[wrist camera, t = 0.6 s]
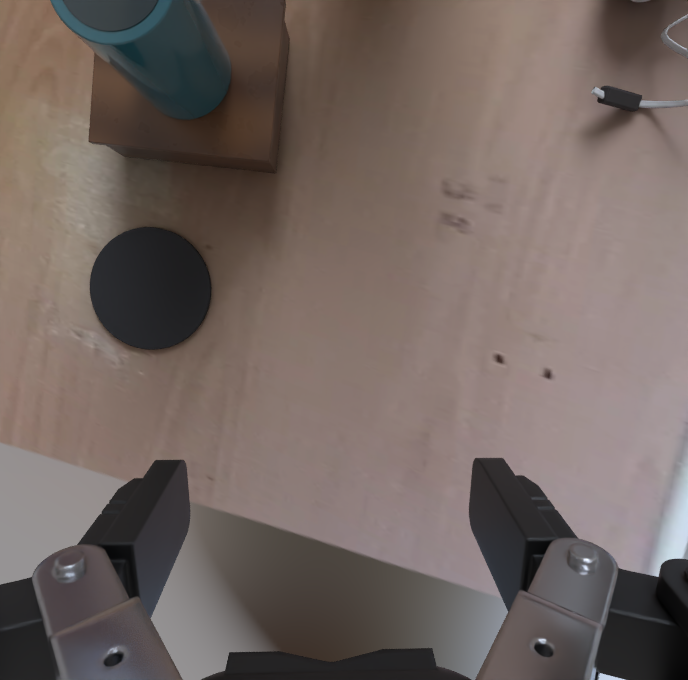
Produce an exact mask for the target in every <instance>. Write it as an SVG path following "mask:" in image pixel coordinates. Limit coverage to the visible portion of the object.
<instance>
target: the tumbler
mask: <svg viewBox="0 0 688 680" xmlns="http://www.w3.org/2000/svg"><path fill="white" fill-rule="evenodd" d="M50 1H51V3H52V6H53V7H54V9H55V11H56V13H57V15H58V16H59V17H60V19H61V20H62V21H63V22H64V24H65V25H66V26H67V27H68V28H69V29H70V30H71V31H72V32H74V33H75V34H76V35H77V36H78V37H79V38H80V39H81V40H82V41H83V42H84V43H85V44H86V45H88V46H89V47H90V48H91V49H92V50H93V51H94V52H95V53H96V54H97V55H98V56H99V57H100V58H101V59H103V60H104V61H105V62H106V63H107V64H108V65H109V66H110V67H111V68H112V69H113V70H114V71H115V72H116V73H118V74H119V75H120V76H121V77H122V78H123V79H124V80H125V81H126V82H127V83H128V84H129V85H130V86H131V87H133V88H134V89H135V90H136V91H137V92H138V93H139V94H140V95H141V96H142V97H143V98H144V99H145V100H147V101H148V102H149V103H150V104H151V105H152V106H153V107H154V108H155V109H156V110H158V111H159V112H161V113H162V114H164V115H166V116H168V117H171V118H175V119H180V120H189V119H195V118H199V117H202V116H204V115H206V114H208V113H210V112H211V111H212V110H214V109H215V108H216V107H217V106H218V105H219V104H220V102H221V101H222V100H223V98H224V97H225V95H226V93H227V90H228V88H229V84H230V80H231V62H230V57H229V54H228V51H227V49H226V47H225V45H224V43H223V41H222V40H221V38H220V36H219V34H218V32H217V30H216V28H215V26H214V25H213V23H212V21H211V19H210V17H209V15H208V13H207V11H206V10H205V8H204V6H203V4H202V2H201V0H50Z"/></svg>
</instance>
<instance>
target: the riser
mask: <svg viewBox="0 0 688 680" xmlns="http://www.w3.org/2000/svg"><path fill="white" fill-rule="evenodd" d="M201 2H202V4H203V6H204V8H205V10H206V11H207V13H208V15H209V17H210V19H211V21H212V23H213V25H214V26H215V28H216V30H217V32H218V34H219V36H220V38H221V40H222V41H223V43H224V45H225V47H226V49H227V51H228V54H229V57H230V62H231V80H230V84H229V88H228V90H227V93H226V95H225V97H224V98H223V100H222V101H221V102H220V104H219V105H218V106H217V107H216V108H215V109H214V110H212V111H211V112H210V113H208V114H206V115H204V116H202V117H199V118H195V119H189V120H180V119H175V118H171V117H168V116H166V115H164V114H162V113H161V112H159V111H158V110H156V109H155V108H154V107H153V106H152V105H151V104H150V103H149V102H148V101H147V100H145V99H144V98H143V97H142V96H141V95H140V94H139V93H138V92H137V91H136V90H135V89H134V88H133V87H131V86H130V85H129V84H128V83H127V82H126V81H125V80H124V79H123V78H122V77H121V76H120V75H119V74H118V73H116V72H115V71H114V70H113V69H112V68H111V67H110V66H109V65H108V64H107V63H106V62H105V61H104V60H103V59H101V58H100V57H99V56H98V55H97V54H96V53H95V55H94V70H93V85H92V99H91V114H90V129H89V142H90V143H92V144H99V145H106V146H108V147H110V148H111V149H113V150H115V151H116V152H118V153H120V154H121V155H123V156H125V157H134V158H143V159H152V160H161V161H170V162H180V163H189V164H198V165H207V166H216V167H225V168H235V169H244V170H253V171H262V172H271V173H276V170H277V160H278V150H279V140H280V130H281V120H282V110H283V100H284V90H285V80H286V70H287V60H288V50H289V40H290V39H289V35H288V31H287V28H286V24H285V20H284V18H285V8H286V2H285V0H201Z"/></svg>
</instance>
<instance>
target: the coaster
mask: <svg viewBox="0 0 688 680" xmlns="http://www.w3.org/2000/svg"><path fill="white" fill-rule="evenodd" d="M90 294H91V300H92V304H93V307H94V310H95V312H96V314H97V316H98V318H99V320H100V321H101V323H102V324H103V325H104V327H105V328H106V329H107V330H108V331H109V332H110V333H111V334H112V335H113V336H115V337H116V338H117V339H119V340H121V341H122V342H124V343H126V344H128V345H131V346H134V347H137V348H142V349H162V348H167V347H170V346H173V345H176V344H178V343H180V342H182V341H184V340H185V339H187V338H188V337H189V336H191V335H192V334H193V333H194V332H195V331H196V330H197V328H198V327H199V326H200V325H201V323H202V321H203V320H204V318H205V316H206V314H207V311H208V308H209V304H210V299H211V282H210V276H209V272H208V270H207V267H206V264H205V262H204V261H203V259H202V257H201V256H200V254H199V253H198V251H197V250H196V249H195V248H194V247H193V246H192V245H191V244H190V243H189V242H188V241H187V240H185V239H184V238H182V237H181V236H179V235H177V234H175V233H173V232H170V231H167V230H164V229H160V228H154V227H143V228H136V229H132V230H129V231H126V232H124V233H122V234H120V235H118V236H117V237H115V238H114V239H112V240H111V241H110V242H109V243H108V244H107V245H106V246H105V247H104V248H103V249H102V251H101V252H100V254H99V255H98V257H97V259H96V261H95V263H94V266H93V269H92V273H91V278H90Z"/></svg>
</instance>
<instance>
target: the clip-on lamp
mask: <svg viewBox="0 0 688 680" xmlns="http://www.w3.org/2000/svg"><path fill="white" fill-rule="evenodd" d="M631 1H633V2H646V1H649V0H631ZM687 18H688V14H687V15H685V16H683V17H682V18H680V19H678V20H676V21H675V22H673V23H671V24H670V25H669V26H668V27H666V28H665V29H664V30H663V32H662V34H661V39H662V42H663V43H664V44H665V45H666V46H668V47H669V48H670V49H672V50H673V51H675V52H677V53H679V54H681V55H682V56H684V57H686V58H688V49H686V48H684V47H682V46H681V45H679V44H677V43H676V42H674V41H673V40H671V39H670V38H669V37H668V35H667V32H668V30H669V29H670V28H671V27H673V26H674V25H676V24H678V23H679V22H681V21H683V20H685V19H687ZM592 94H594V95H595V96H597V97H598V100H597V101H598V103H601V104H605V105H609V106H613V107H617V108H620V109H624V110H628V111H637V110H638V109H639V107H641V108H671V107H683V106H688V100H680V101H643V100H641V99H642V95H639V94H635V93H632V92H628V91H625V90H621V89H618V88H615V87H611V86H603V87H601V90H600V89H599V88H597V87H594V89H593V91H592Z"/></svg>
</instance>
